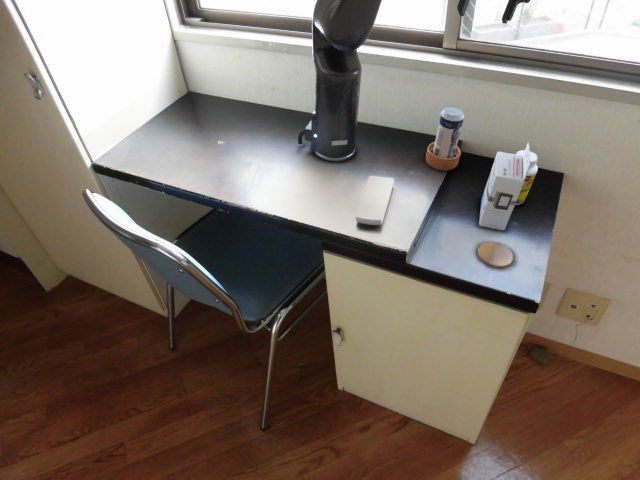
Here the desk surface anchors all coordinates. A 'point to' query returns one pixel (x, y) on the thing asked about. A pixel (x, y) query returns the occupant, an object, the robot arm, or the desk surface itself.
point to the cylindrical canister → (448, 132)
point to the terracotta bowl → (442, 159)
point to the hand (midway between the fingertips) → (482, 18)
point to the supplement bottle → (527, 177)
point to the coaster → (495, 254)
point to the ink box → (503, 188)
